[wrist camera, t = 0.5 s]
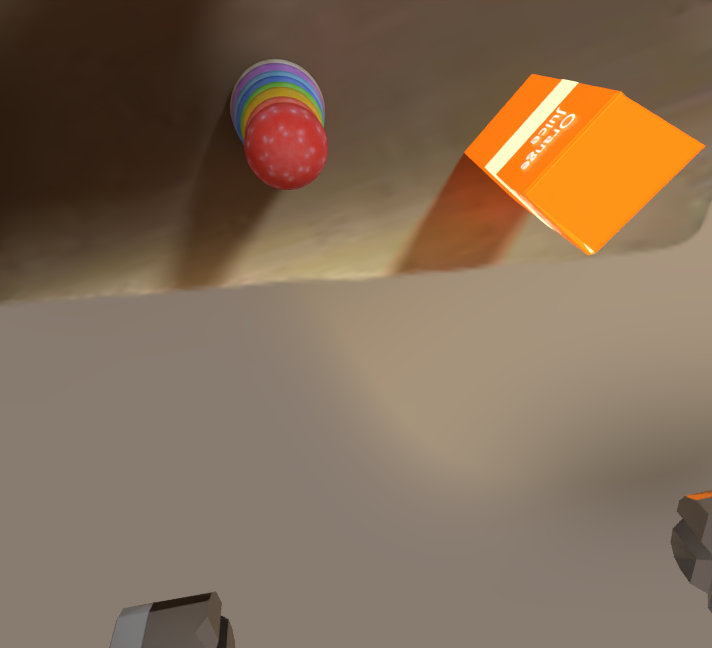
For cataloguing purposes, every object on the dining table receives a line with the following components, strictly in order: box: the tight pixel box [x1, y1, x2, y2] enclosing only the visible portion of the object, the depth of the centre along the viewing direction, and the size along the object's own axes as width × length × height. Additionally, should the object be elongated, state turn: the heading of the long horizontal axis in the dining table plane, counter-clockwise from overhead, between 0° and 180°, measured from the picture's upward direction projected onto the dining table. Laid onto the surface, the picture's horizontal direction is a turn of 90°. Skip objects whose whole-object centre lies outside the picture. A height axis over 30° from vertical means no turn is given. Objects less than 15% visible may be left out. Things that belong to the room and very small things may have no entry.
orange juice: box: [464, 74, 705, 255], centre depth 43 cm, size 8×9×20 cm
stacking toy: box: [230, 59, 328, 190], centre depth 40 cm, size 8×8×19 cm
